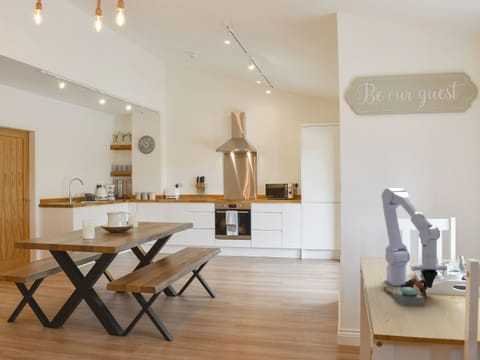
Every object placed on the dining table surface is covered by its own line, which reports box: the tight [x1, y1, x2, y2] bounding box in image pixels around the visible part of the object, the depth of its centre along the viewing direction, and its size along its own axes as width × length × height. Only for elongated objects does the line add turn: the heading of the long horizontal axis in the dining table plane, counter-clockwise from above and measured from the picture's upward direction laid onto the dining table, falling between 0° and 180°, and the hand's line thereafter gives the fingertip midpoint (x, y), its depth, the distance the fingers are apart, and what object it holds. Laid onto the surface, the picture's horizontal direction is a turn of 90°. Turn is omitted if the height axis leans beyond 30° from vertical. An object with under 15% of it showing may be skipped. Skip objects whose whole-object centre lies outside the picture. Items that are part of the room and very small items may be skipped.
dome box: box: [394, 291, 425, 307], centre depth 161 cm, size 8×8×3 cm
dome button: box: [400, 287, 419, 296], centre depth 161 cm, size 6×6×4 cm
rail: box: [383, 286, 395, 299], centre depth 171 cm, size 14×1×2 cm, turn 2°
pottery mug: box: [399, 278, 428, 300], centre depth 170 cm, size 12×10×8 cm
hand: (429, 287), depth 172 cm, fingers closed
